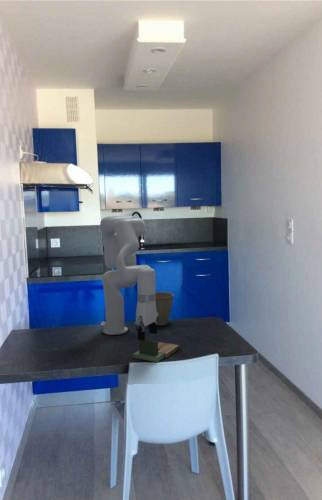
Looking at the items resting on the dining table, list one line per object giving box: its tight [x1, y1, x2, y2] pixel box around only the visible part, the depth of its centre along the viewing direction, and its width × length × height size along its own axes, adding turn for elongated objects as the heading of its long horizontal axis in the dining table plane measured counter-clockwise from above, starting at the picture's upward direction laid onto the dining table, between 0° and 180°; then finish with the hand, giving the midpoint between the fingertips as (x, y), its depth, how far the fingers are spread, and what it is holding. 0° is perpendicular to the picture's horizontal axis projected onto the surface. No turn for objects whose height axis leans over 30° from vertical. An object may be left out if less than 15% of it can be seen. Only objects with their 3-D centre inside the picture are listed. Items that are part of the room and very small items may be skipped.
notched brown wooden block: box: [158, 341, 180, 358], centre depth 200 cm, size 14×12×2 cm
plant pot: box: [155, 291, 174, 326], centre depth 242 cm, size 15×15×16 cm
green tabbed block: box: [132, 338, 165, 363], centre depth 193 cm, size 12×9×8 cm
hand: (147, 336), depth 192 cm, fingers open, 9 cm apart
